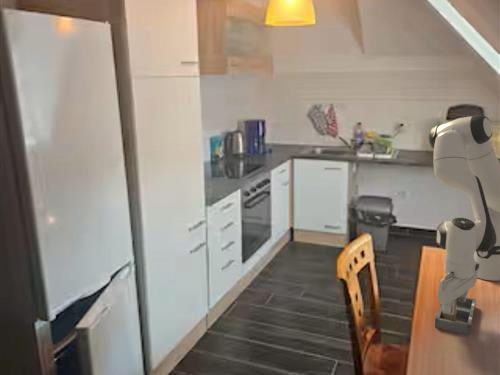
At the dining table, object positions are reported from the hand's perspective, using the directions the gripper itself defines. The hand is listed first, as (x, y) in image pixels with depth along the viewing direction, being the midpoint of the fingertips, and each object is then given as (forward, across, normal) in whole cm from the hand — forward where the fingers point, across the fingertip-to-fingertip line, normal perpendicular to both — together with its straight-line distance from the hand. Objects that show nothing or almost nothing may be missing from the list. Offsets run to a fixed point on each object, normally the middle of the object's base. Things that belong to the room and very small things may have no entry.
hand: (455, 306), depth 157 cm
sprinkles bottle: (+6, 0, +2) cm, 6 cm away
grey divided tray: (+6, +5, +2) cm, 8 cm away
